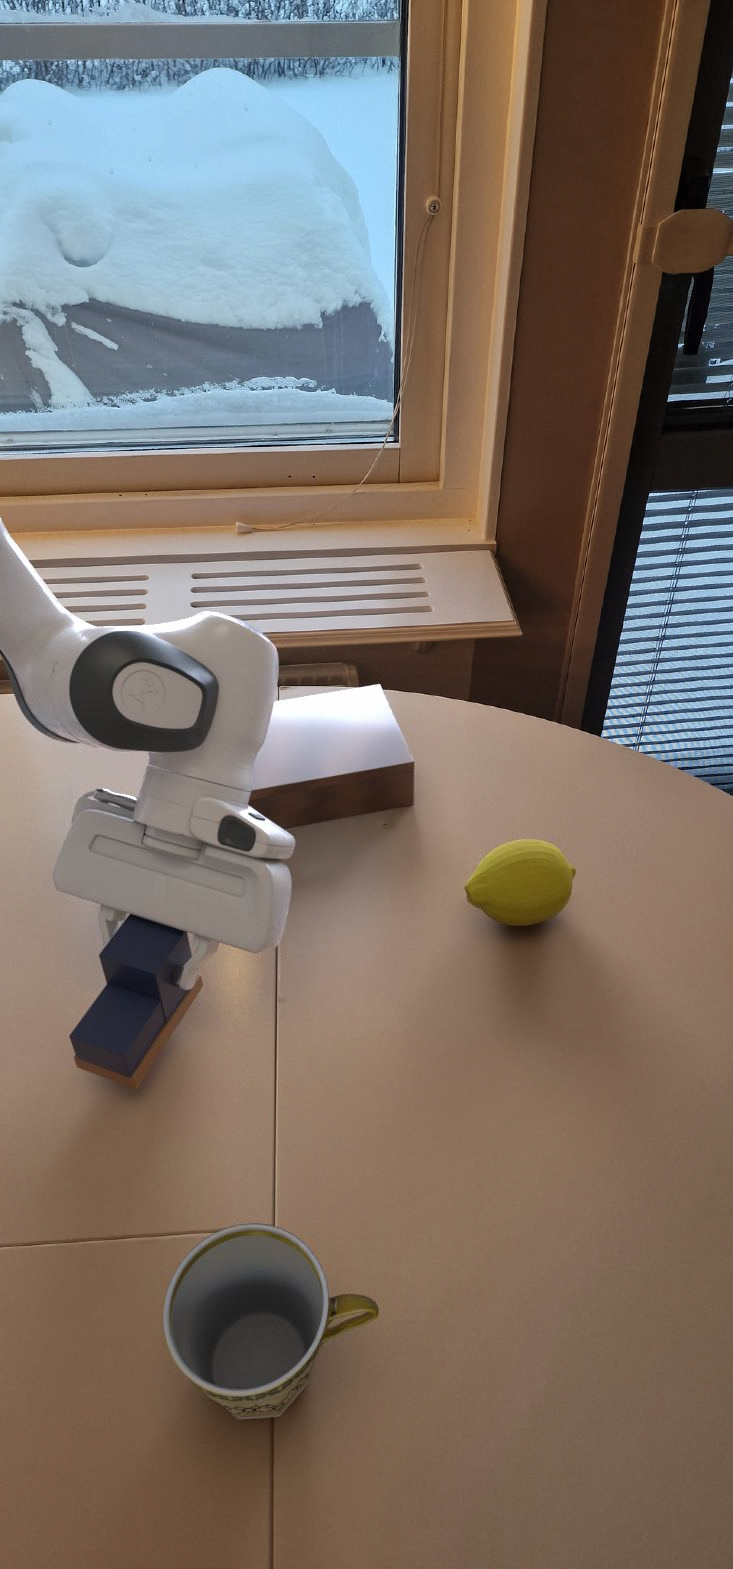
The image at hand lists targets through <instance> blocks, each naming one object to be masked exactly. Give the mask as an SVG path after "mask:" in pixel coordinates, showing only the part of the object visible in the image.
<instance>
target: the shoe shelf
mask: <svg viewBox="0 0 733 1569" xmlns="http://www.w3.org/2000/svg"><path fill="white" fill-rule="evenodd" d="M252 782H253V783H252V791H249V792H251V794H250V798H249V802H248V805H249V806H250V807H251V808H253V809H254V810H256V811H257V812H258V813H260V814H261V815H263V816H264V817H266V818H267V819H269V820H270V821H272V822H273V823H275V824H276V825H278V826H279V827H281V828H282V829H284V830H285V829H289V828H294V827H298V826H306V825H311V824H316V823H320V822H327V821H331V820H338V819H342V818H349V817H353V816H359V815H365V814H371V813H375V812H381V811H385V810H386V811H387V810H390V809H397V808H402V807H408V806H413V805H414V804H415V802H414V801H415V760H414V758H413V755H412V753H411V751H410V748H409V747H408V744H407V742H406V740H405V737H404V735H403V732H402V730H401V728H400V726H399V723H398V722H397V719H396V716H395V714H394V713H393V710H392V708H391V706H390V704H389V701H388V699H387V697H386V694H385V692H384V690H383V688H382V685H381V684H380V683H377V684H372V685H366V686H359V687H354V688H347V689H342V690H336V691H329V692H323V693H316V694H311V695H304V696H299V697H293V698H287V699H286V698H285V699H280V700H275V701H274V705H273V710H272V715H271V719H270V723H269V727H268V731H267V734H266V738H265V741H264V744H263V745H262V747H261V749H260V750H259V752H258V754H257V756H256V758H255V761H254V765H253V771H252ZM246 791H247V790H246Z"/></svg>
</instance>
